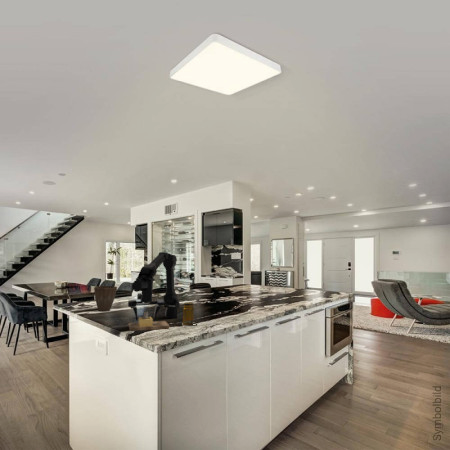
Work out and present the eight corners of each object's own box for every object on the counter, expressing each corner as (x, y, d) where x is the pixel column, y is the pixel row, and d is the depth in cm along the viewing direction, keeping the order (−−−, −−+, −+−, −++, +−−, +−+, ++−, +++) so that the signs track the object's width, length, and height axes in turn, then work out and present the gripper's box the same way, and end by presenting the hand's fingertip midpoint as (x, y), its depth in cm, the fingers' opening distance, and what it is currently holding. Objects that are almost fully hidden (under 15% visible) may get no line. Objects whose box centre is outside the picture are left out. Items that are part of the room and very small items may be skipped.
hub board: (165, 323, 170) (165, 308, 171) (169, 328, 159) (169, 312, 160) (128, 325, 163) (129, 309, 164) (130, 330, 152) (131, 313, 153)
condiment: (182, 323, 173) (183, 302, 175) (196, 323, 174) (197, 302, 176) (181, 325, 166) (182, 304, 168) (196, 326, 167) (197, 304, 168)
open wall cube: (150, 323, 164) (151, 316, 164) (152, 325, 158) (152, 319, 158) (138, 323, 161) (138, 317, 162) (139, 326, 155) (139, 319, 156)
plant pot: (93, 308, 210) (95, 285, 212) (116, 308, 215) (117, 285, 217) (91, 312, 196) (92, 288, 198) (115, 312, 201) (116, 288, 202)
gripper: (161, 288, 172) (160, 315, 171) (128, 288, 166) (126, 317, 164) (165, 290, 162) (163, 319, 160) (129, 290, 155) (127, 321, 154)
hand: (145, 319), depth 160 cm, fingers open, 9 cm apart
